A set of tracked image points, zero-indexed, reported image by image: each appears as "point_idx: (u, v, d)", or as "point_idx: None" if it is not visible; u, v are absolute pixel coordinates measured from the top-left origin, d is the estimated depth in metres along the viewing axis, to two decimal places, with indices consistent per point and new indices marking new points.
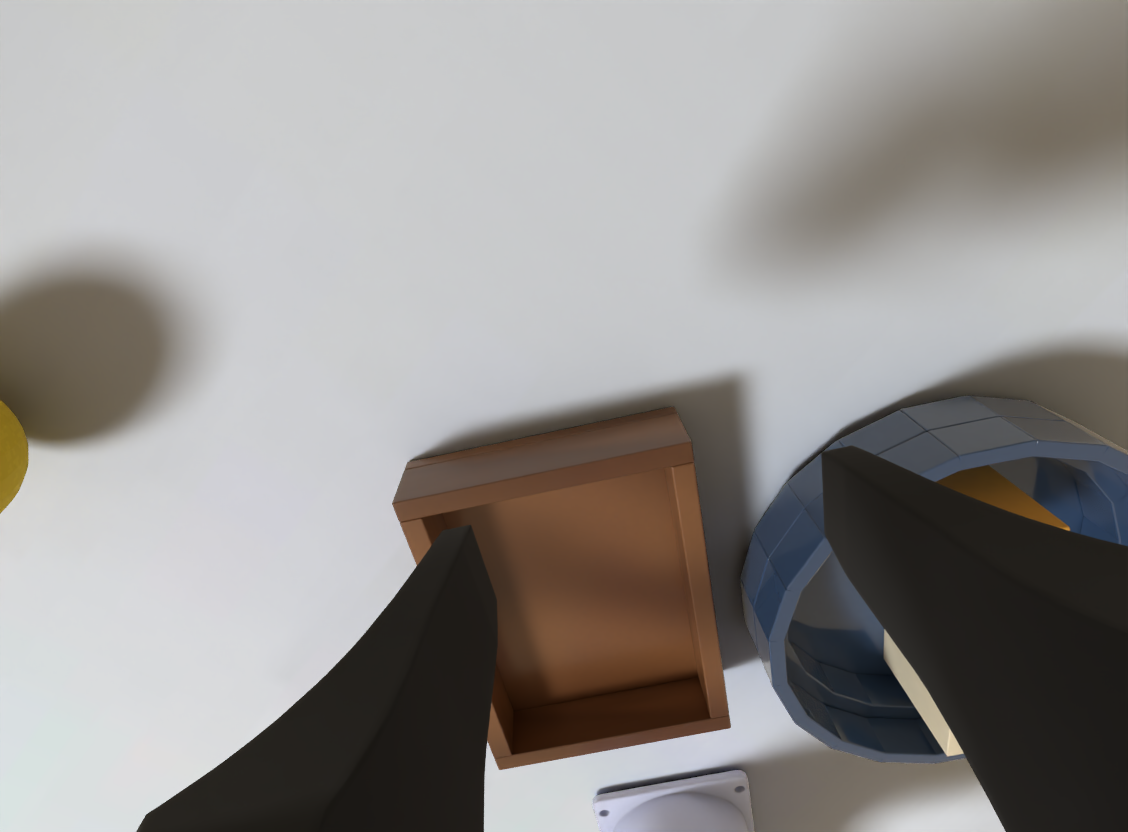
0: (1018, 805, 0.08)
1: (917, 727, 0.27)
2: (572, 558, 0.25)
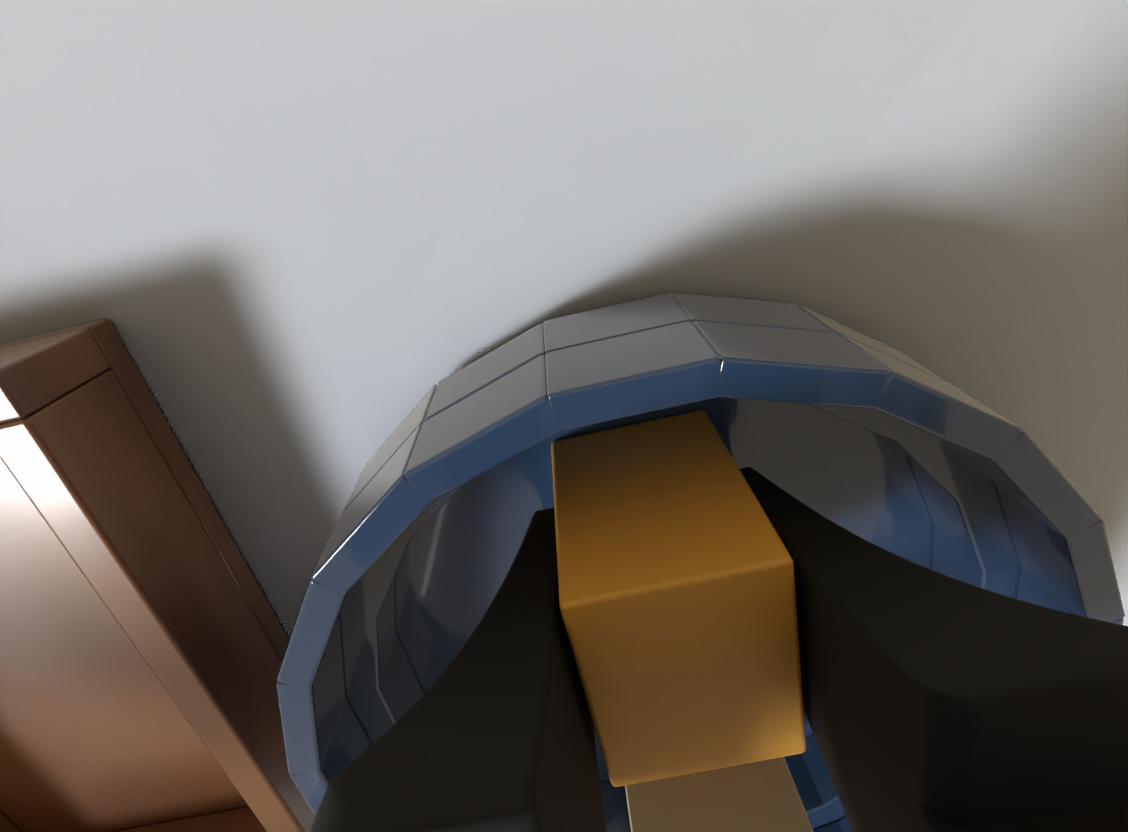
0: (864, 831, 0.08)
1: None
2: (13, 605, 0.14)
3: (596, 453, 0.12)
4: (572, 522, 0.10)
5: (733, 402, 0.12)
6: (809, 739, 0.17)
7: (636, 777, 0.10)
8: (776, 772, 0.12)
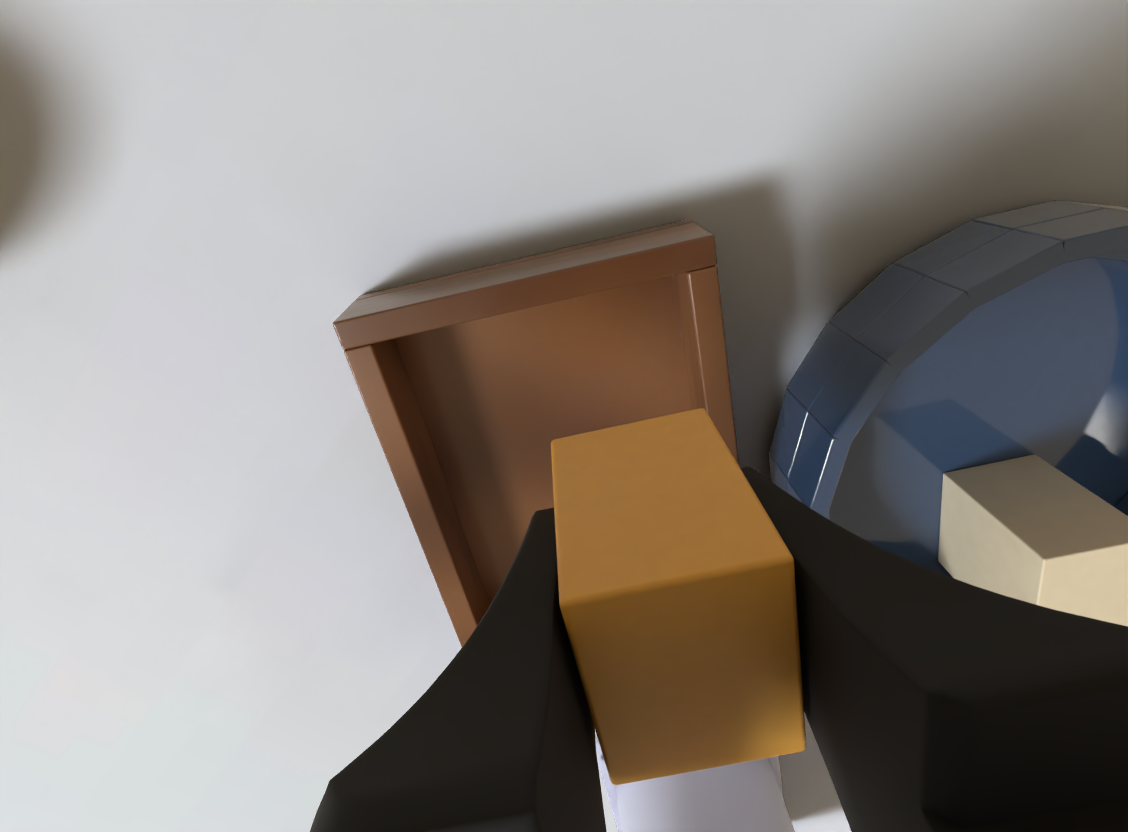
0: None
1: None
2: (565, 425, 0.20)
3: (596, 451, 0.12)
4: (572, 520, 0.10)
5: (1076, 277, 0.19)
6: None
7: (636, 774, 0.10)
8: (1115, 514, 0.18)
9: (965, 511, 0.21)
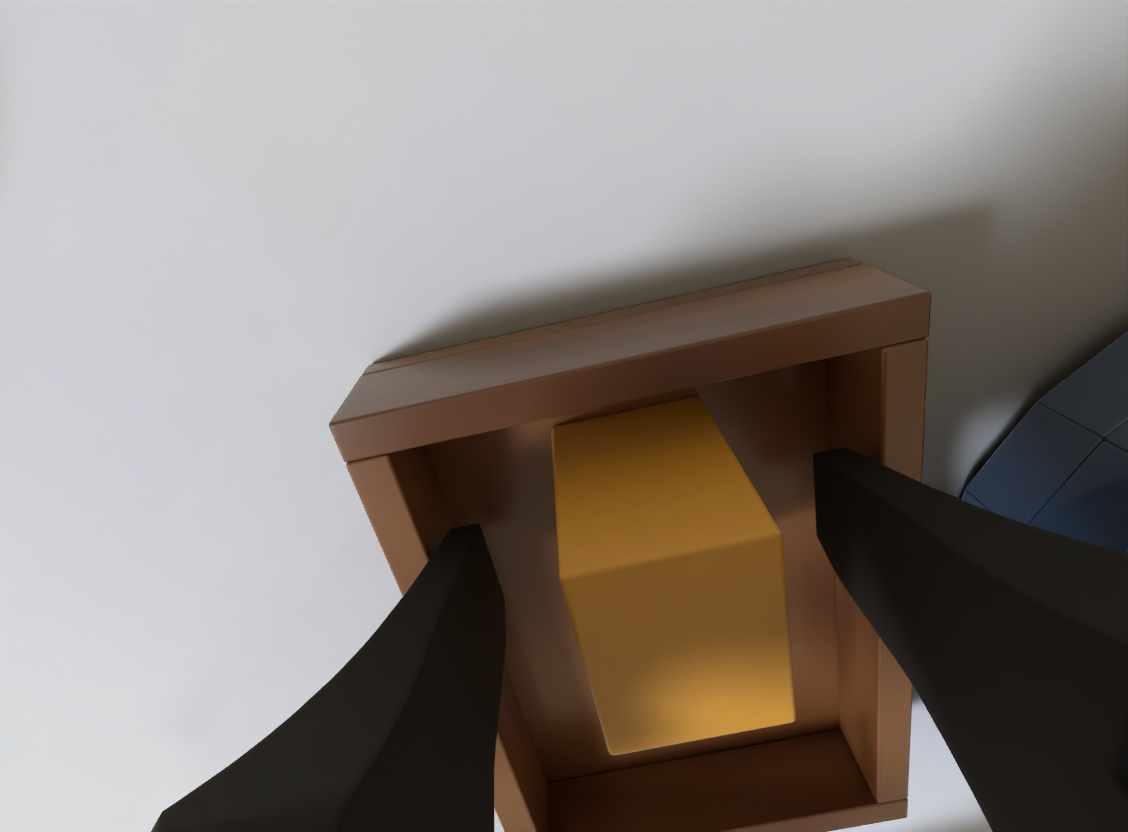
0: (1004, 807, 0.08)
1: None
2: None
3: (595, 437, 0.12)
4: (571, 501, 0.10)
5: None
6: None
7: (632, 745, 0.10)
8: None
9: None
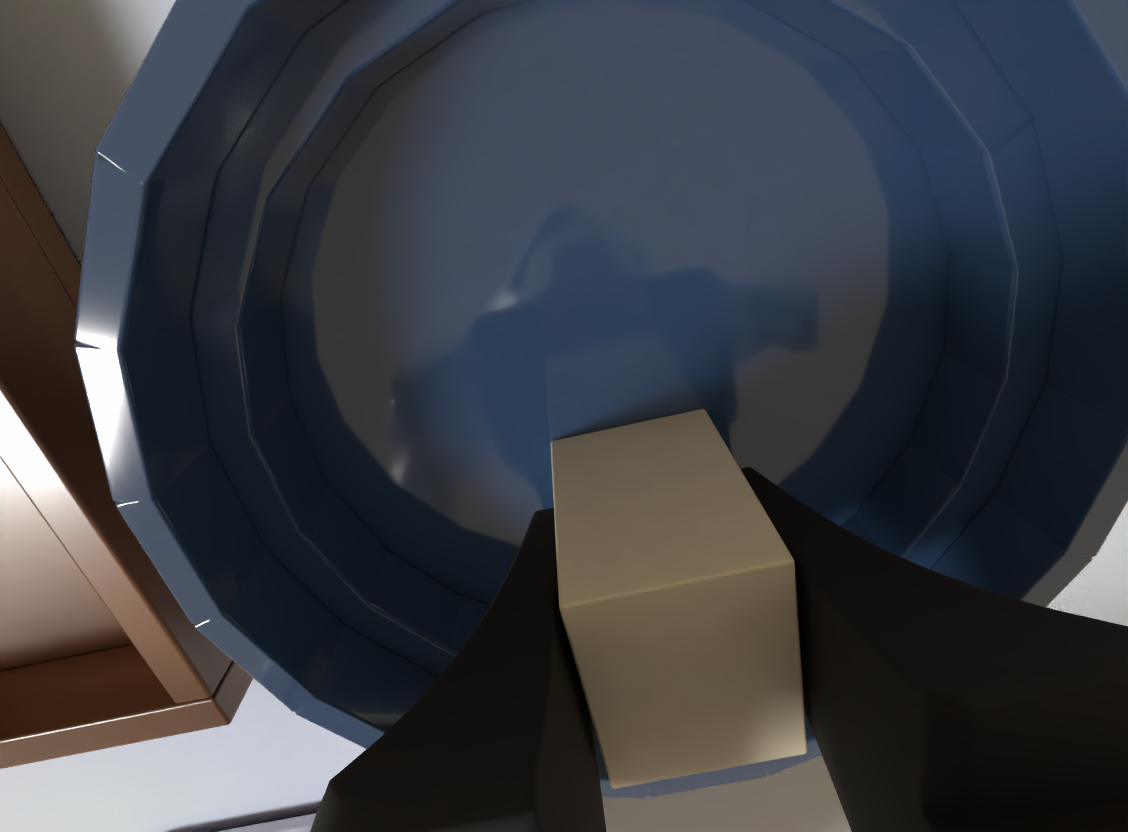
0: None
1: None
2: None
3: None
4: None
5: (696, 53, 0.10)
6: None
7: None
8: (747, 511, 0.09)
9: None
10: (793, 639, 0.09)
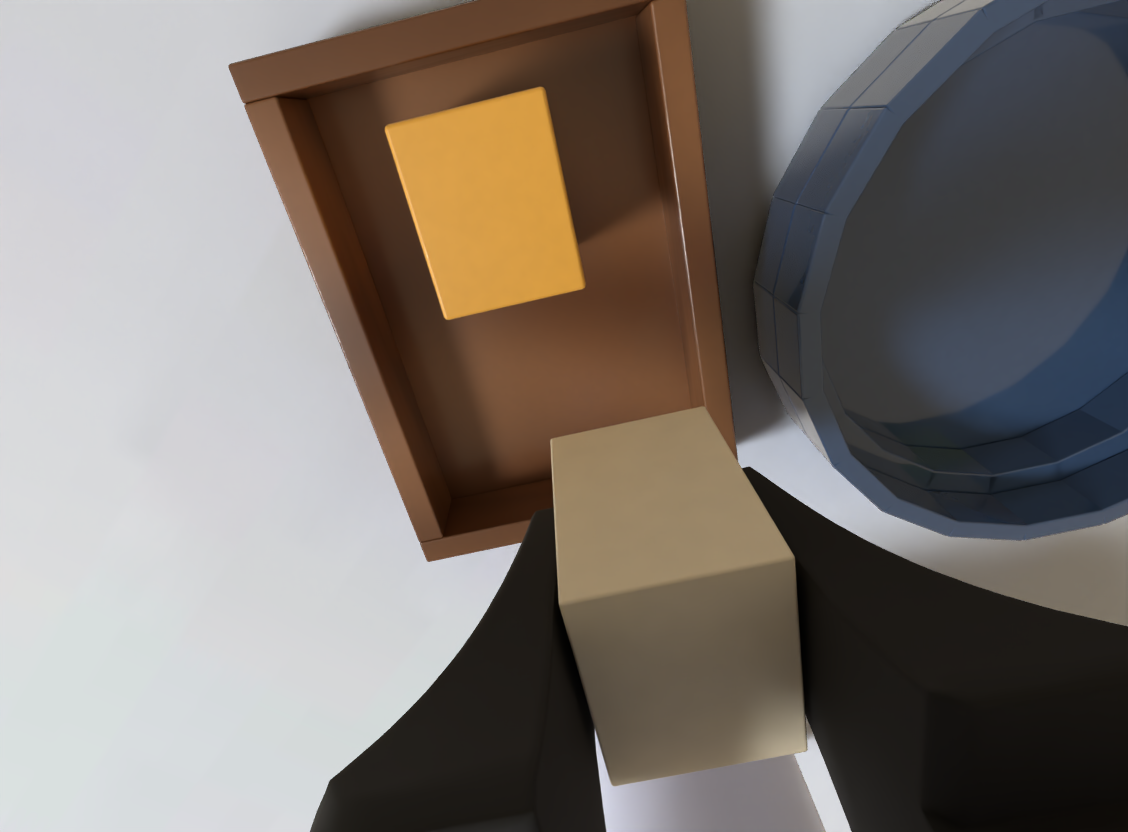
0: None
1: (996, 501, 0.20)
2: None
3: None
4: None
5: (1107, 54, 0.16)
6: (1091, 402, 0.21)
7: (460, 307, 0.13)
8: (747, 508, 0.09)
9: None
10: (793, 636, 0.09)
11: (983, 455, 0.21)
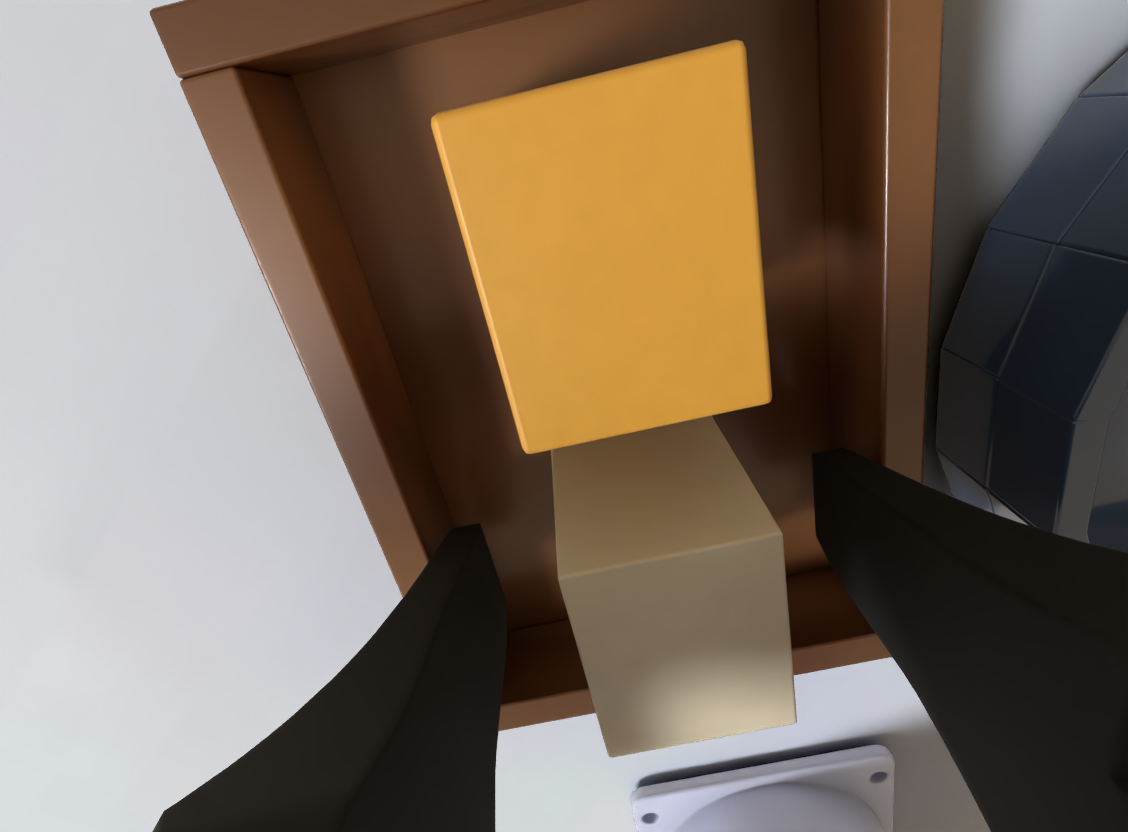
0: (1003, 807, 0.08)
1: None
2: None
3: None
4: None
5: None
6: None
7: (554, 434, 0.08)
8: (738, 488, 0.10)
9: None
10: (782, 610, 0.09)
11: None
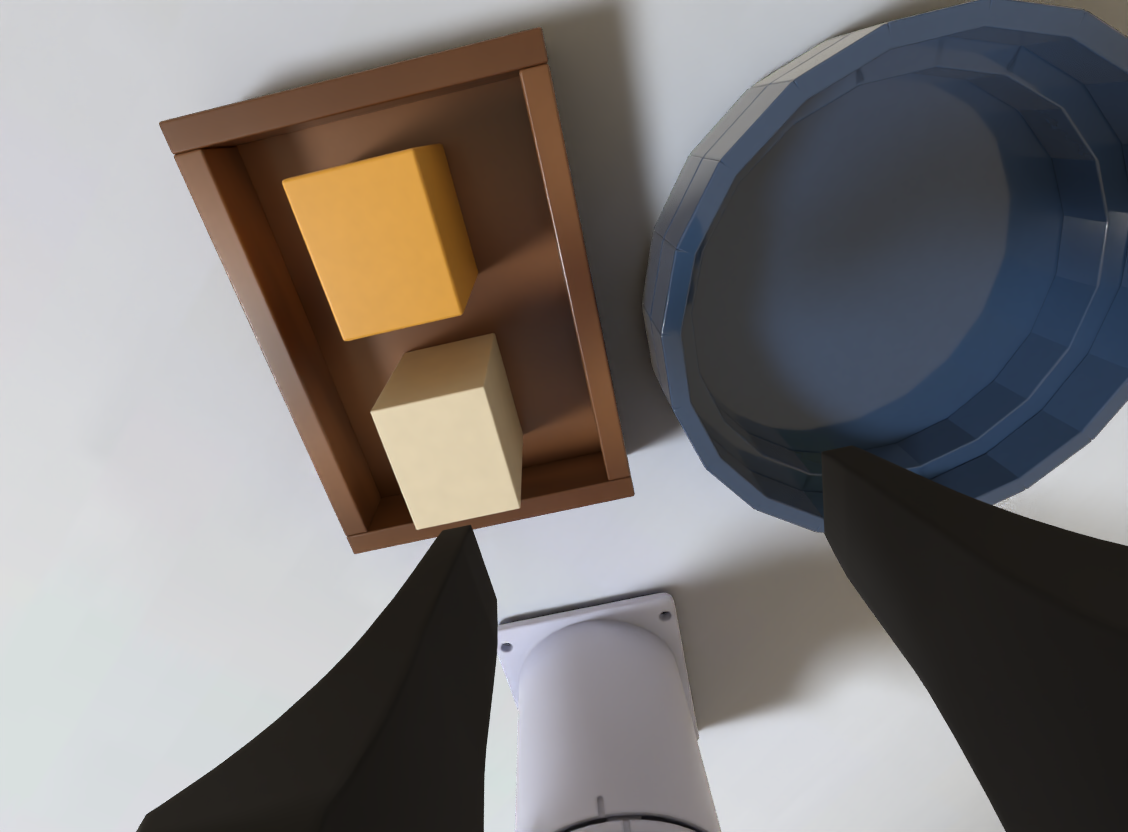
0: (1018, 805, 0.08)
1: None
2: None
3: None
4: None
5: (939, 108, 0.19)
6: (956, 412, 0.23)
7: (356, 330, 0.16)
8: (478, 371, 0.18)
9: None
10: (494, 433, 0.17)
11: None
